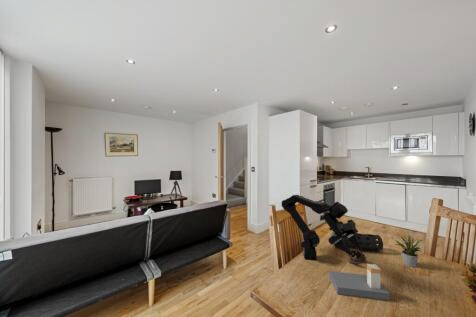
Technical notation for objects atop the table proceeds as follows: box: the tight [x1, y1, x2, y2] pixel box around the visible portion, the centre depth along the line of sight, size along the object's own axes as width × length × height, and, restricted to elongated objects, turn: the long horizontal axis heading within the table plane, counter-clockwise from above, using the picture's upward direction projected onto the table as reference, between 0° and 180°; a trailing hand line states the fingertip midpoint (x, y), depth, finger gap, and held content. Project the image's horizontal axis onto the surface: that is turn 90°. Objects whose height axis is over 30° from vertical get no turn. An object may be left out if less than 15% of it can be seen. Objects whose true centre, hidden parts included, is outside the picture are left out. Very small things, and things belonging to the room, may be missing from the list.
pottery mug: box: [347, 248, 368, 265], centre depth 107 cm, size 12×10×8 cm
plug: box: [366, 263, 382, 289], centre depth 82 cm, size 4×4×11 cm
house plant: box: [392, 234, 425, 268], centre depth 104 cm, size 14×14×16 cm
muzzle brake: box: [330, 231, 384, 252], centre depth 122 cm, size 10×28×10 cm, turn 78°
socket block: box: [328, 270, 390, 301], centre depth 85 cm, size 20×12×3 cm, turn 79°
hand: (356, 252), depth 89 cm, fingers open, 9 cm apart
